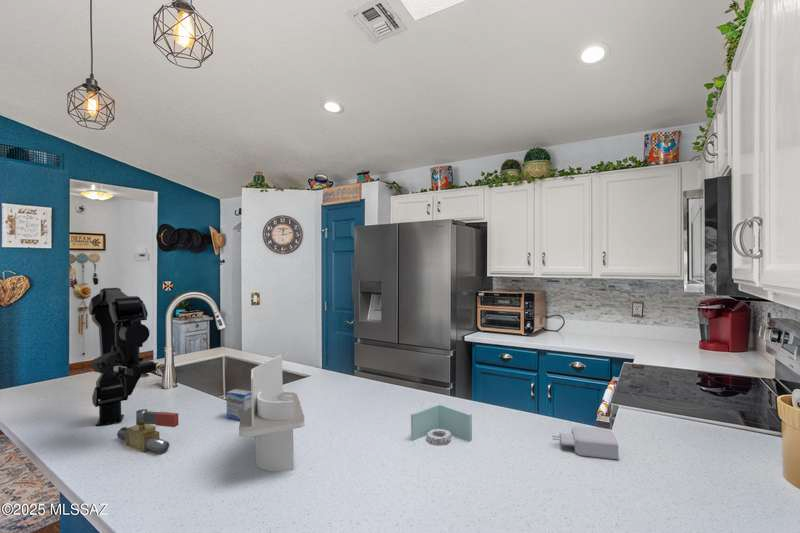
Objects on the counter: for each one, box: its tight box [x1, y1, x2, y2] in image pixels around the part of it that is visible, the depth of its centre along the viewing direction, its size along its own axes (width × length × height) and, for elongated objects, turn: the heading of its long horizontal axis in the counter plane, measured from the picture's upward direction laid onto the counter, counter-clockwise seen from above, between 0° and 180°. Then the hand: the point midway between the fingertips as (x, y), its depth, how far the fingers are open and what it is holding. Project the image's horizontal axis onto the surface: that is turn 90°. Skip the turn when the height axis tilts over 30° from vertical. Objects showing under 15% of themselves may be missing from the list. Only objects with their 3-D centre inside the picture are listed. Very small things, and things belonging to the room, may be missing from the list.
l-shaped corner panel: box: [410, 403, 473, 446], centre depth 110 cm, size 12×12×8 cm
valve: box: [116, 424, 170, 455], centre depth 110 cm, size 20×4×6 cm, turn 61°
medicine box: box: [226, 388, 251, 422], centre depth 129 cm, size 8×4×9 cm, turn 68°
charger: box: [551, 425, 620, 460], centre depth 104 cm, size 5×9×15 cm
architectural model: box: [238, 354, 305, 472], centre depth 103 cm, size 28×21×23 cm
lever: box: [135, 408, 179, 428], centre depth 108 cm, size 3×13×4 cm, turn 76°
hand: (128, 395), depth 113 cm, fingers closed
